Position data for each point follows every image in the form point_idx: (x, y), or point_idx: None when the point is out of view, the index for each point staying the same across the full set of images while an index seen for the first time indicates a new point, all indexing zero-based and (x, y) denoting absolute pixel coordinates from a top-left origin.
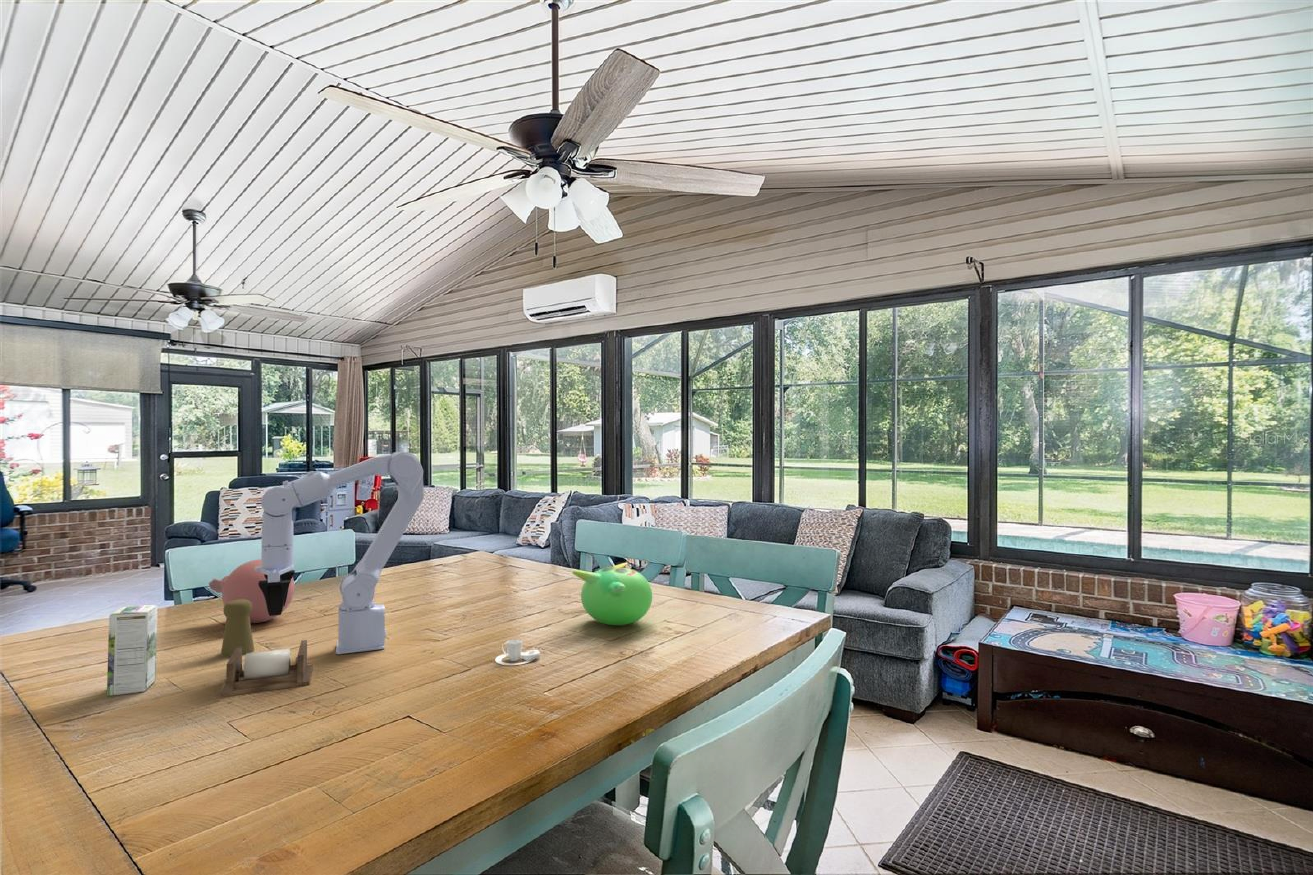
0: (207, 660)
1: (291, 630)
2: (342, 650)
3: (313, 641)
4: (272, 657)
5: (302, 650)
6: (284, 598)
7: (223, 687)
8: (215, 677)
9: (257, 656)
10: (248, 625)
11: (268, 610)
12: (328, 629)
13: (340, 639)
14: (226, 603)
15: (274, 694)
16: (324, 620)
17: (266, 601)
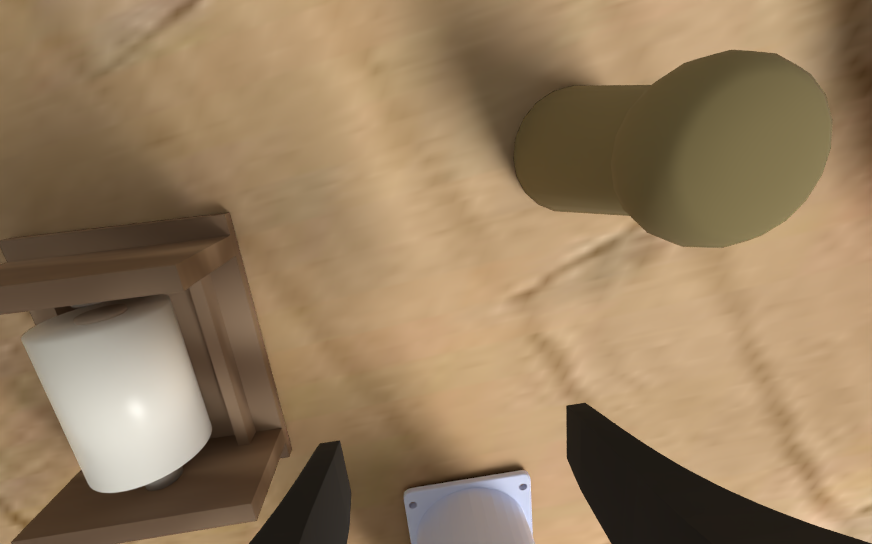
0: (499, 51)
1: (793, 285)
2: (421, 506)
3: (601, 389)
4: (66, 435)
5: (89, 541)
6: (590, 497)
7: (67, 235)
8: (250, 155)
9: (47, 388)
10: (610, 212)
11: (304, 470)
12: (734, 405)
13: (445, 527)
14: (759, 65)
15: (30, 402)
16: (867, 369)
17: (264, 528)
